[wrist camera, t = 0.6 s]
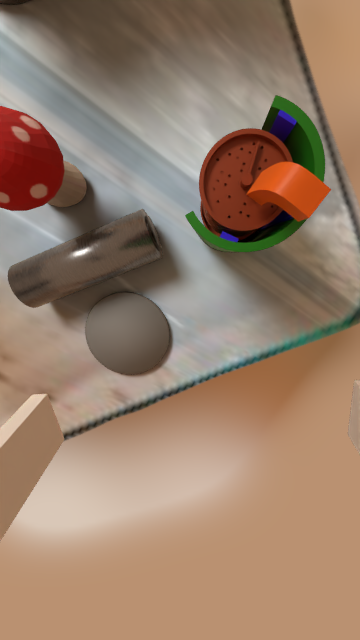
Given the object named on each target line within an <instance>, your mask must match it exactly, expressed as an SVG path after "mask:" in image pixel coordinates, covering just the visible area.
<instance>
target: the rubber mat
mask: <svg viewBox="0 0 360 640" xmlns="http://www.w3.org/2000/svg"><path fill="white" fill-rule="evenodd" d="M85 334H86V340H87V344H88V346H89V349H90V351H91V352H92V354H93V355H94V357H95V358H96V359H97V360H98V361H99V362H100V363H101V364H102V365H104V366H105V367H106V368H108V369H110V370H112V371H115V372H117V373H121V374H139V373H143V372H145V371H148V370H150V369H151V368H153V367H154V366H155V365H157V364H158V363H159V362H160V360H161V359H162V358H163V356H164V354H165V352H166V350H167V347H168V343H169V327H168V323H167V320H166V318H165V316H164V314H163V312H162V311H161V310H160V308H159V307H158V306H157V305H156V304H155V303H154V302H152V301H151V300H150V299H148V298H146V297H144V296H142V295H140V294H136V293H131V292H120V293H115V294H112V295H109V296H107V297H105V298H103V299H102V300H100V301H99V302H98V303H97V304H96V305H95V306H94V307H93V308H92V310H91V311H90V313H89V315H88V318H87V321H86V327H85Z"/></svg>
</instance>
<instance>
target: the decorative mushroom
mask: <svg viewBox="0 0 360 640" xmlns="http://www.w3.org/2000/svg"><path fill="white" fill-rule="evenodd" d="M86 191H87V187H86V182H85V179H84V177H83V175H82V173H81V172H80V171H79V170H78V169H77V168H76V167H75V166H74V165H72V164H70V163H69V162H66V161H63V155H62V153H61V151H60V149H59V147H58V144H57V142H56V141H55V139H54V138H53V137H52V136H51V135H50V133H49V132H48V131H47V130H46V129H45V127H44V126H43V125H42V124H41V123H40V122H38V121H37V120H35V119H34V118H32V117H31V116H29V115H27V114H26V113H23V112H19V111H16V110H13V109H9V108H6V107H2V106H0V207H1V208H4V209H7V210H11V211H24V210H30V209H33V208H36V207H40V206H43V205H44V204H46V203H48V204H50V205H54V206H57V207H68V206H71V205H74V204H77V203H79V202H80V201H81V200H82V199H83V198H84V197H85V195H86Z"/></svg>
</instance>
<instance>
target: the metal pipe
mask: <svg viewBox="0 0 360 640" xmlns="http://www.w3.org/2000/svg"><path fill="white" fill-rule="evenodd" d="M162 257H163V255H162V247H161V243H160V240H159V237H158V234H157V231H156V229H155V227H154V225H153V223H152V221H151V219H150V217H149V216H148V215H147V213H146V212H145V211H144V210H143V209H141V210H139V211H136V212H134V213H132V214H130V215H127V216H125V217H123V218H120V219H118V220H116V221H113V222H111V223H109V224H107V225H104V226H102V227H100V228H97V229H95V230H93V231H90V232H88V233H86V234H83V235H81V236H79V237H77V238H74V239H72V240H70V241H67V242H65V243H63V244H60V245H58V246H56V247H53V248H51V249H49V250H47V251H44V252H42V253H40V254H37V255H35V256H33V257H30V258H28V259H26V260H24V261H21V262H19V263H17V264H14V265H12V266H11V267H10V268H9V271H8V281H9V284H10V287H11V289H12V291H13V292H14V294H15V295H16V297H17V298H18V299H19V300H20V301H21V302H22V303H24V304H25V305H27V306H29V307H33V308H36V307H39V306H42V305H44V304H47V303H49V302H52V301H54V300H57V299H59V298H62V297H64V296H67V295H70V294H72V293H75V292H77V291H80V290H82V289H85V288H87V287H90V286H92V285H95V284H97V283H100V282H102V281H105V280H108V279H110V278H113V277H115V276H118V275H120V274H123V273H125V272H128V271H130V270H133V269H135V268H138V267H140V266H143V265H146V264H148V263H151V262H153V261H156V260H158V259H161V258H162Z"/></svg>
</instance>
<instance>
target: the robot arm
mask: <svg viewBox="0 0 360 640" xmlns="http://www.w3.org/2000/svg"><path fill="white" fill-rule="evenodd" d="M26 1H29V0H0V3H4V4H18V3H23V2H26ZM348 435H349V437H350V439H351V441H352V442H353V444H354V445H355V448H356V449H357V451H358V452H359V454H360V380H354V386H353V395H352V403H351V411H350V420H349V428H348ZM63 441H64V437H63V434H62V431H61V429H60V426H59V423H58V421H57V418H56V416H55V413H54V410H53V408H52V405H51V402H50V400H49V397H48V395H47V394H35V395H31V397H30V398H29V399H28V400H27V401H26V402H25V403H24V404H23V405H22V406H21V407H20V408H19V409H18V410H17V411H16V412H15V413H14V415H13V416H12V417H11V418H10V419H9V420H8V421H7V422H6V423H5V424H4V425H3V426H2V427H1V428H0V541H1V539H2V537H3V536H4V534H5V533H6V531H7V530H8V528H9V527H10V525H11V523H12V521H13V520H14V518H15V517H16V515H17V514H18V512H19V511H20V509H21V507H22V506H23V504H24V503H25V501H26V500H27V498H28V496H29V495H30V493H31V492H32V490H33V488H34V487H35V485H36V484H37V482H38V480H39V479H40V477H41V476H42V474H43V472H44V471H45V469H46V468H47V466H48V464H49V463H50V461H51V460H52V458H53V456H54V455H55V453H56V452H57V450H58V449H59V447H60V445H61V444H62V442H63Z"/></svg>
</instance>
